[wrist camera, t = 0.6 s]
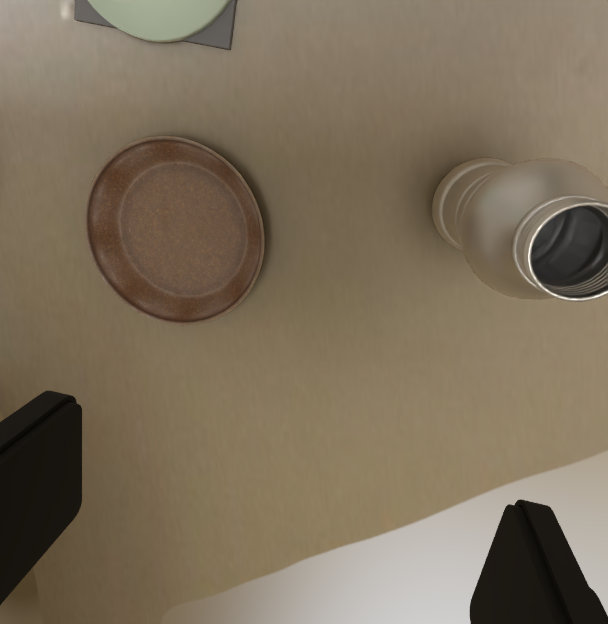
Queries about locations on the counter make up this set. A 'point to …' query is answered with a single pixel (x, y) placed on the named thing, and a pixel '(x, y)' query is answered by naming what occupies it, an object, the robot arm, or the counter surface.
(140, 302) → the saucer
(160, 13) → the lid
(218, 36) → the mat
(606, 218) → the plastic bottle
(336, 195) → the counter surface
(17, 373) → the counter surface
